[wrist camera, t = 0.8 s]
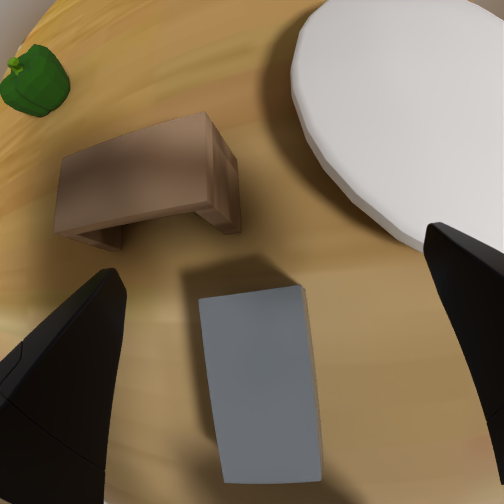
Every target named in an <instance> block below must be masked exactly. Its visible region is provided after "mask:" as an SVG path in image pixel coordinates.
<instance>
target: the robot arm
mask: <svg viewBox="0 0 504 504" xmlns="http://www.w3.org/2000/svg"><path fill="white" fill-rule="evenodd" d="M423 253H424V256H425V259H426V262H427V264H428V267H429V270H430V272H431V275H432V278H433V280H434V283H435V286H436V289H437V292H438V294H439V297H440V299H441V302H442V304H443V306H444V308H445V311H446V313H447V315H448V317H449V320H450V322H451V324H452V327H453V329H454V331H455V334H456V336H457V339H458V341H459V344H460V346H461V349H462V351H463V354H464V356H465V359H466V362H467V364H468V367H469V370H470V373H471V375H472V378H473V381H474V384H475V387H476V390H477V393H478V396H479V399H480V402H481V406H482V409H483V412H484V415H485V419H486V421H487V427H488V430H489V434H490V438H491V442H492V445H493V450H494V454H495V458H496V463H497V467H498V472H499V477H500V481H501V485H504V253H502V252H500V251H498V250H496V249H495V248H493V247H491V246H489V245H487V244H485V243H483V242H481V241H479V240H477V239H475V238H473V237H471V236H469V235H467V234H465V233H463V232H461V231H459V230H457V229H455V228H453V227H451V226H449V225H446V224H444V223H442V222H435V223H429V224H428V225H427V228H426V234H425V239H424V245H423ZM126 300H127V292H126V289H125V286H124V284H123V282H122V280H121V278H120V276H119V274H118V272H117V271H116V269H114V268H107V269H102V270H100V271H99V272H98V273H97V274H95V275H94V276H93V277H92V278H91V279H90V280H88V281H87V282H86V283H85V284H84V285H83V286H81V287H80V288H79V289H78V290H77V291H76V292H75V293H73V294H72V295H71V296H70V297H69V298H68V299H67V300H66V301H64V302H63V303H62V304H61V305H60V306H59V307H58V308H57V309H56V310H54V311H53V312H52V313H51V314H50V315H49V316H48V317H47V318H46V319H45V320H44V321H42V322H41V323H40V324H39V325H38V326H37V327H36V328H35V329H34V330H33V331H32V332H31V333H30V334H29V335H28V336H27V337H25V338H24V340H23V341H21V342H20V343H19V344H18V345H17V346H16V347H15V348H14V349H13V350H12V351H11V352H10V353H9V354H8V355H7V356H6V357H5V358H4V359H3V360H2V361H0V504H104V484H105V471H104V470H105V467H106V455H107V444H108V435H109V426H110V418H111V410H112V402H113V395H114V388H115V382H116V376H117V369H118V364H119V358H120V352H121V347H122V340H123V331H124V319H125V309H126Z"/></svg>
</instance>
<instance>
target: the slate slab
mask: <svg viewBox="0 0 504 504" xmlns="http://www.w3.org/2000/svg"><path fill="white" fill-rule="evenodd" d="M198 301H199V311H200V320H201V329H202V338H203V346H204V354H205V362H206V370H207V378H208V385H209V392H210V399H211V406H212V413H213V419H214V426H215V432H216V438H217V444H218V450H219V456H220V462H221V467H222V473H223V478H224V483H242V484H278V483H301V482H315V481H321V480H322V469H323V457H324V456H323V443H322V431H321V420H320V410H319V399H318V389H317V380H316V371H315V362H314V353H313V345H312V336H311V328H310V321H309V313H308V305H307V298H306V291H305V288H304V287H303V286H301V285H294V286H288V287H281V288H274V289H268V290H261V291H254V292H247V293H239V294H232V295H224V296H217V297H209V298H201V299H198Z"/></svg>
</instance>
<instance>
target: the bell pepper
mask: <svg viewBox="0 0 504 504" xmlns="http://www.w3.org/2000/svg"><path fill="white" fill-rule="evenodd" d="M8 67H9V68H11V74H10V75H8V76H7V77H6V78H5V79H4V80H3V81H2V82H1V84H0V94H1V97H2V99H3V100H4V102H5V103H6V104H7V105H9V106H10V107H12V108H14V109H15V110H17V111H20V112H23V113H26V114H29V115H33V116H36V117H42V116H45V115H46V114H48V113H49V111H50V110H54V109H55V108H57V107H58V106H60V105H61V103H62V102H63V101H64V100H65V98H66V97H67V95H68V93H69V91H70V86H69V78H68V76H67V74H66V72H65V70H64V68H63V67H62V65H61V64H60V62H59V60H58V59H57V58H56V56H55V55H54V54H53V53H52V52H51V51H50V50H49V49H48V48H47V47H44V46H41V45H36V44H34V45H33V46H32V47H31V48H30V49H29V50H28V52H27V53H25V54H23V55H21V56H20V57H18V58H15V57H14V58H11V59H10V60H9V61H8Z"/></svg>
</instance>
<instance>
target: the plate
mask: <svg viewBox="0 0 504 504" xmlns="http://www.w3.org/2000/svg"><path fill="white" fill-rule="evenodd" d="M290 78H291V93H292V100H293V103H294V105H295V108H296V111H297V114H298V117H299V120H300V123H301V126H302V129H303V132H304V135H305V138H306V141H307V143H308V144H309V146H310V148H311V149H312V151H313V153H314V154H315V156H316V158H317V160H318V161H319V163H320V165H321V166H322V168H323V170H324V171H325V172H326V173H327V174H328V175H329V176H330V177H331V179H332V180H333V181H334V182H335V183H336V184H337V185H338V187H339V188H340V189H341V190H342V191H343V192H344V193H345V195H346V196H347V197H348V198H349V199H350V200H351V202H352V203H353V204H355V205H356V206H357V207H358V208H360V209H361V210H362V211H363V212H365V213H366V214H367V215H368V216H369V217H371V218H372V219H373V220H374V221H375V222H377V223H378V224H379V225H380V226H381V227H383V228H384V229H385V230H386V231H387V232H388V233H390V234H391V235H392V236H393V237H394V238H395V239H397V240H398V241H400V242H402V243H404V244H406V245H408V246H410V247H411V248H413V249H415V250H417V251H419V252H420V253H422V254H424V253H423V245H424V239H425V234H426V228H427V225H428V224H429V223H435V222H442V223H444V224H446V225H449V226H451V227H453V228H455V229H457V230H459V231H461V232H463V233H465V234H467V235H469V236H471V237H473V238H475V239H477V240H479V241H481V242H483V243H485V244H487V245H489V246H491V247H493V248H495V249H496V250H498V251H500V252H502V253H504V21H503V20H501V19H500V18H498V17H497V16H495V15H493V14H492V13H490V12H488V11H487V10H485V9H483V8H481V7H480V6H478V5H476V4H474V3H471V2H469V1H467V0H327V1H326V2H325V3H324V4H323V5H322V6H320V7H319V8H318V9H317V10H316V11H315V12H314V13H312V14H311V15H310V16H309V17H308V19H307V21H306V22H305V24H304V25H303V27H302V28H301V30H300V32H299V36H298V40H297V44H296V48H295V52H294V56H293V61H292V65H291V71H290Z"/></svg>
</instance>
